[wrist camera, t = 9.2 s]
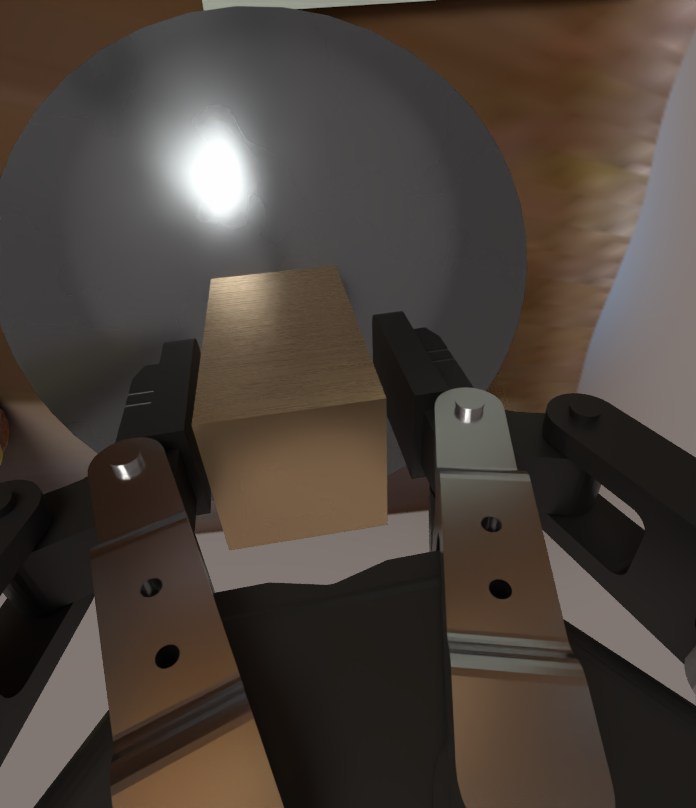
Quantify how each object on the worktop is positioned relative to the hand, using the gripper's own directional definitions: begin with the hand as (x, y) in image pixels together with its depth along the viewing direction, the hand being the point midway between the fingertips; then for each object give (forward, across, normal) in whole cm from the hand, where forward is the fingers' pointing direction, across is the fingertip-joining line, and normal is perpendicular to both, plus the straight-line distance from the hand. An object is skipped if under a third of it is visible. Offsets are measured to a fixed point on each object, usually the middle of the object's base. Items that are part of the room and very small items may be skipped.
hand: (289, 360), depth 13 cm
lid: (+2, 0, 0) cm, 2 cm away
